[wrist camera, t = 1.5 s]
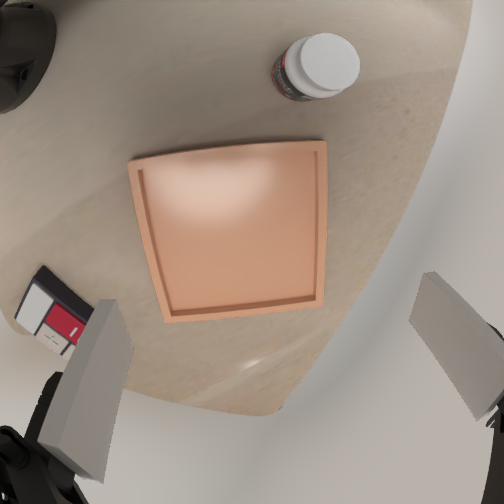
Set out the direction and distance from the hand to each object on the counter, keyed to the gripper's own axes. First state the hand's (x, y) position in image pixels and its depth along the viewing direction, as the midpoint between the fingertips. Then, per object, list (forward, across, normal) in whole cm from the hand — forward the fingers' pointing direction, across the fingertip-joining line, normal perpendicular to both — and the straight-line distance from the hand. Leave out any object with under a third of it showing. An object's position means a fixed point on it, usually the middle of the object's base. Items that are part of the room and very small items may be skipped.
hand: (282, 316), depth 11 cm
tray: (+21, -1, -5) cm, 22 cm away
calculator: (+22, -27, -17) cm, 39 cm away
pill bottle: (+21, +6, +12) cm, 25 cm away
